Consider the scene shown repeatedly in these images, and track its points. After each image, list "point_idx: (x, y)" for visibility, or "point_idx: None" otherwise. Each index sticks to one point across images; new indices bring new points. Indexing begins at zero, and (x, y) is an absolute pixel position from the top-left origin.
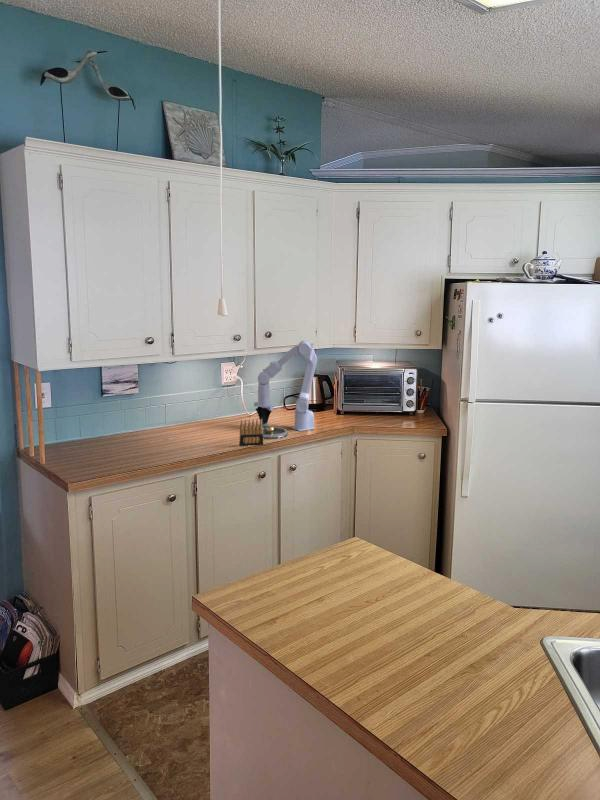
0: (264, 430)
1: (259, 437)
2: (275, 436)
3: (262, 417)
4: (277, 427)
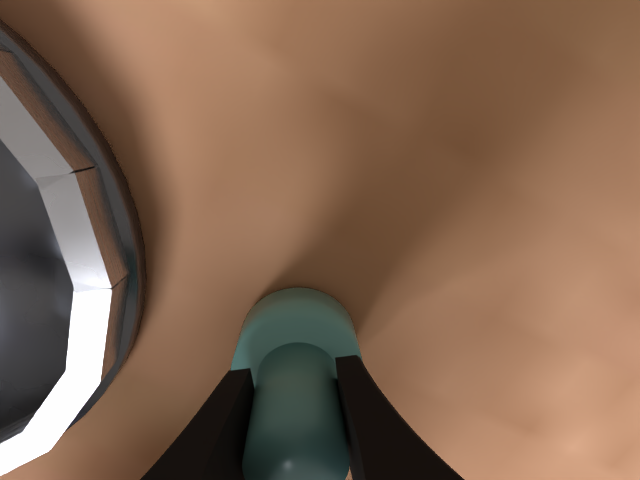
0: (49, 253)
1: None
2: None
3: (341, 456)
4: (11, 450)
